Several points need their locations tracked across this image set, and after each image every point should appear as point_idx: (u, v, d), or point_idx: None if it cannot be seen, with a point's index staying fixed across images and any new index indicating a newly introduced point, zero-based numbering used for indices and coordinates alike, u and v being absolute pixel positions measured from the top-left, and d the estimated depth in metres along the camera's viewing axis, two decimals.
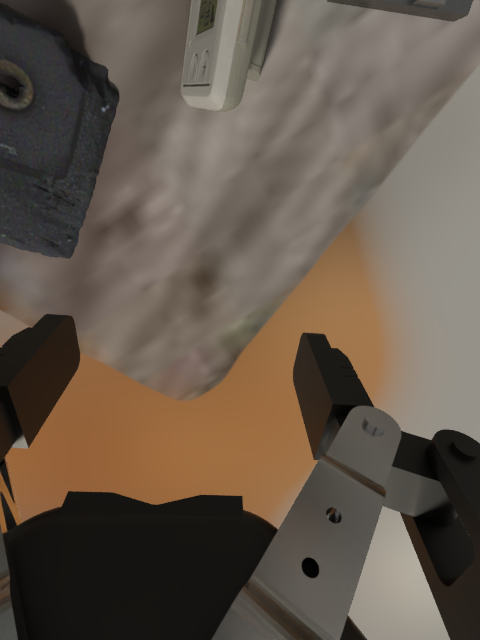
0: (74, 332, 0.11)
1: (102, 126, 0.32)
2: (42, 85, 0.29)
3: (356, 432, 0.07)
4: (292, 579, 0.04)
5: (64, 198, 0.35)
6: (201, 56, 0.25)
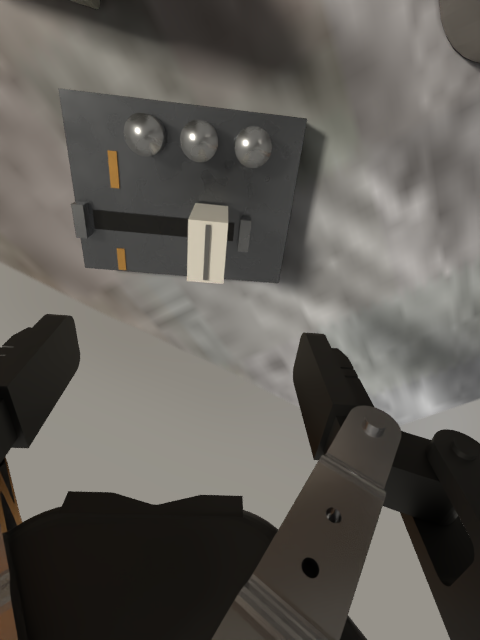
0: (74, 332, 0.11)
1: None
2: None
3: (356, 432, 0.07)
4: (292, 579, 0.04)
5: None
6: None
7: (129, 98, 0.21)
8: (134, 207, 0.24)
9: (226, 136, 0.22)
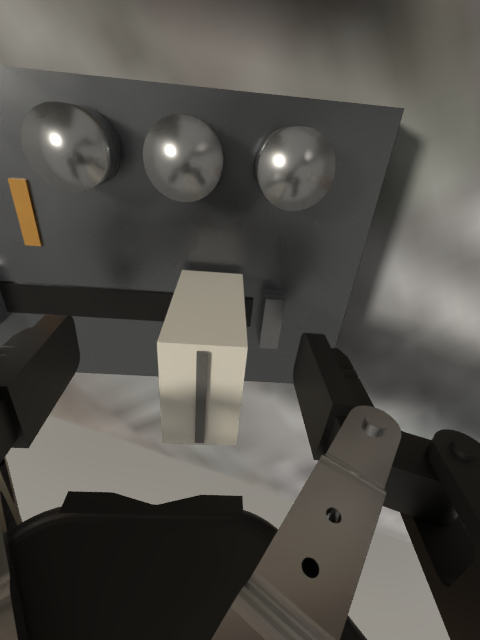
0: (74, 332, 0.11)
1: None
2: None
3: (356, 432, 0.07)
4: (292, 579, 0.04)
5: None
6: None
7: (37, 73, 0.10)
8: (73, 276, 0.13)
9: (239, 147, 0.11)
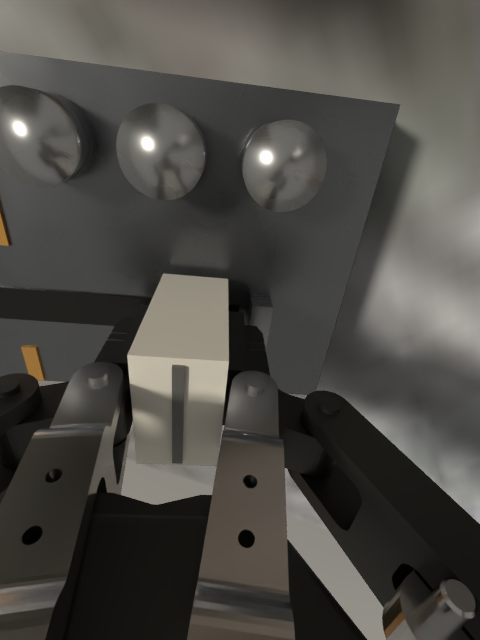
0: None
1: None
2: None
3: (243, 398, 0.08)
4: (235, 558, 0.04)
5: None
6: None
7: (0, 55, 0.09)
8: (45, 279, 0.12)
9: (224, 142, 0.10)
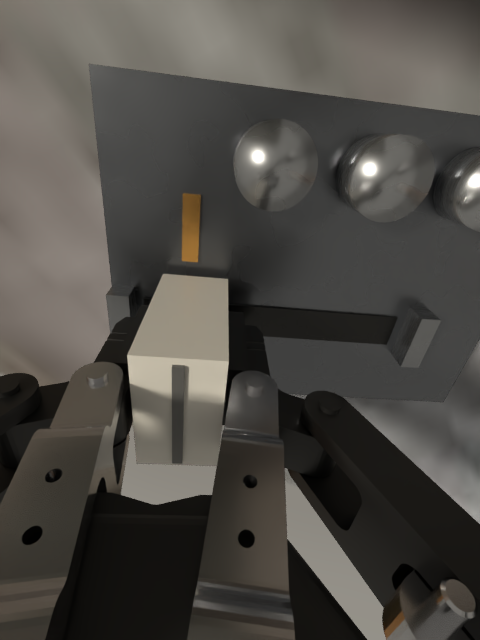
0: None
1: None
2: None
3: (242, 398, 0.08)
4: (234, 558, 0.04)
5: None
6: None
7: (241, 87, 0.10)
8: None
9: None
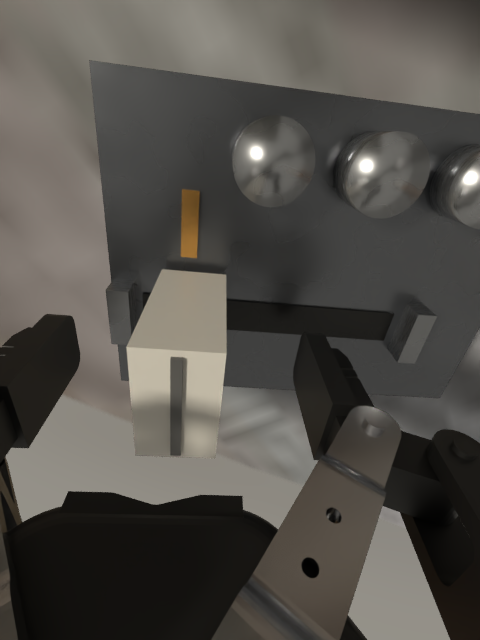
0: (74, 332, 0.11)
1: None
2: None
3: (356, 432, 0.07)
4: (292, 579, 0.04)
5: None
6: None
7: (240, 84, 0.10)
8: None
9: None
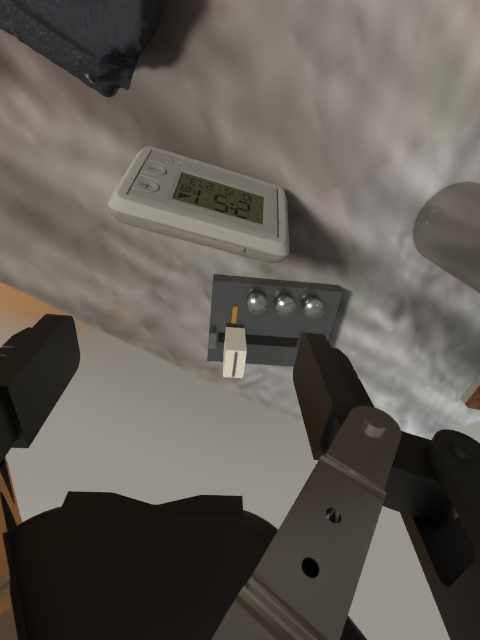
0: (74, 332, 0.11)
1: (70, 68, 0.29)
2: (92, 3, 0.25)
3: (356, 432, 0.07)
4: (292, 579, 0.04)
5: None
6: (158, 181, 0.28)
7: (249, 284, 0.39)
8: None
9: (298, 299, 0.40)
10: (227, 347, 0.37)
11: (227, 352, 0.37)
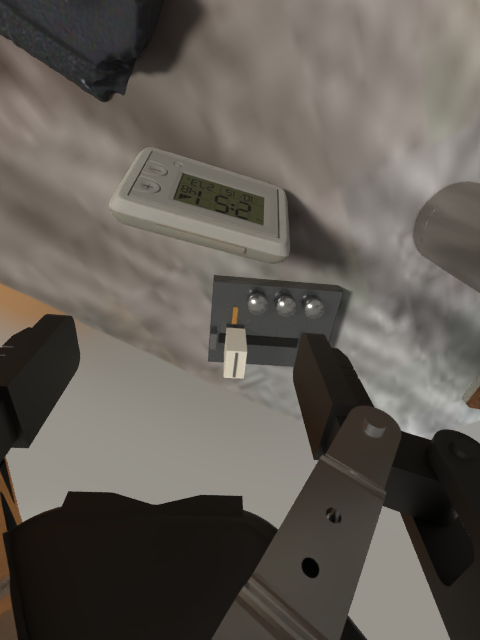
0: (74, 332, 0.11)
1: (67, 73, 0.29)
2: (88, 10, 0.26)
3: (356, 432, 0.07)
4: (292, 579, 0.04)
5: None
6: (159, 182, 0.28)
7: (249, 285, 0.39)
8: None
9: (298, 300, 0.40)
10: (228, 348, 0.38)
11: (228, 353, 0.37)
